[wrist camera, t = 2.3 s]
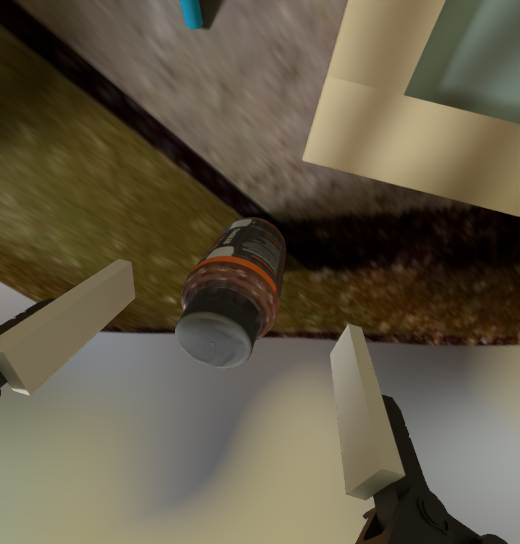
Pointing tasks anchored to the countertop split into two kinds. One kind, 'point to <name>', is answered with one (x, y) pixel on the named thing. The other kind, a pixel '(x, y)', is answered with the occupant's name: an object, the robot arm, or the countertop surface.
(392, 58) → the socket holder
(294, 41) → the countertop surface
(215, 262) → the supplement bottle
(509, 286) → the countertop surface
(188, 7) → the gear
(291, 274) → the countertop surface
